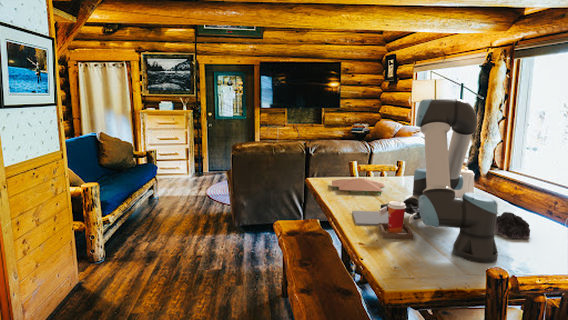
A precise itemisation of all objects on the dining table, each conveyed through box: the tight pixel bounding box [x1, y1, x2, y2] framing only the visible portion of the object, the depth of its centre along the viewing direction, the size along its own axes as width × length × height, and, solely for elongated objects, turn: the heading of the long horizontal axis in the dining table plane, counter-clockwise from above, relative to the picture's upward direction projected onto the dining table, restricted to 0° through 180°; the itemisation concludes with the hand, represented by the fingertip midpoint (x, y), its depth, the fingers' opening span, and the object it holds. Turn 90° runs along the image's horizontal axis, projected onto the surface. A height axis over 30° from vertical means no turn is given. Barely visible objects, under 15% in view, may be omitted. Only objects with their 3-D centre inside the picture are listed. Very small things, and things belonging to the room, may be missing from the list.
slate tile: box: [352, 210, 388, 227], centre depth 174 cm, size 18×18×1 cm
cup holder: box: [377, 223, 414, 241], centre depth 155 cm, size 12×12×2 cm
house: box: [331, 177, 386, 196], centre depth 225 cm, size 23×33×8 cm
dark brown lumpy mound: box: [495, 211, 531, 240], centre depth 154 cm, size 13×14×10 cm
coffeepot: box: [454, 166, 476, 197], centre depth 205 cm, size 11×25×19 cm, turn 168°
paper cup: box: [387, 200, 406, 233], centre depth 154 cm, size 8×8×14 cm
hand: (394, 216), depth 153 cm, fingers open, 13 cm apart
